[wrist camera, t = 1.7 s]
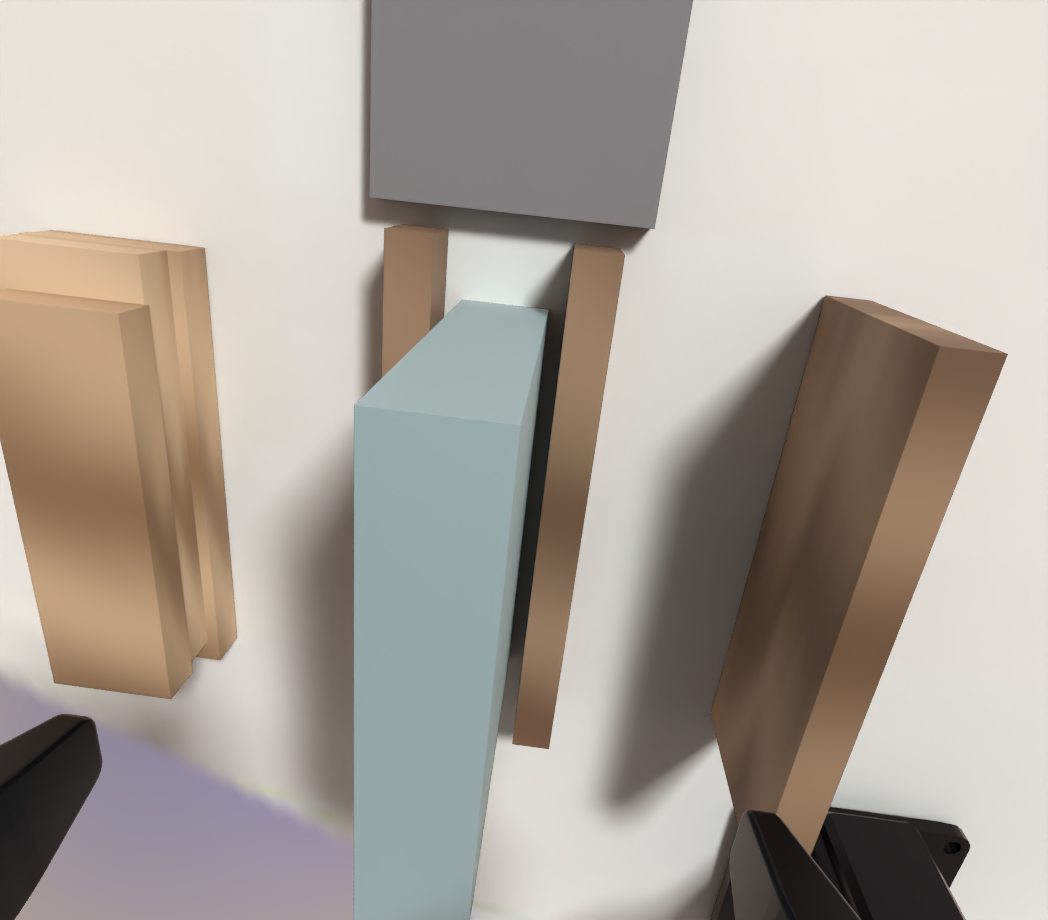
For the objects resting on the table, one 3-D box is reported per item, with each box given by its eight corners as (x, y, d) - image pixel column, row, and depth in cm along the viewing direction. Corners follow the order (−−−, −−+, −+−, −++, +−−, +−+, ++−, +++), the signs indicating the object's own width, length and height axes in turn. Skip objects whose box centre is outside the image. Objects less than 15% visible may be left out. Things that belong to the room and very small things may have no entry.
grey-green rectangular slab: (509, 657, 19) (464, 954, 12) (440, 648, 19) (353, 937, 12) (548, 309, 15) (520, 425, 8) (462, 299, 15) (354, 405, 8)
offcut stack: (237, 637, 19) (180, 712, 17) (118, 621, 20) (41, 693, 17) (204, 248, 15) (121, 261, 12) (52, 230, 15) (-65, 239, 12)
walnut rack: (740, 731, 19) (792, 902, 15) (390, 684, 20) (333, 838, 15) (878, 277, 14) (1020, 320, 10) (404, 224, 15) (323, 241, 10)
